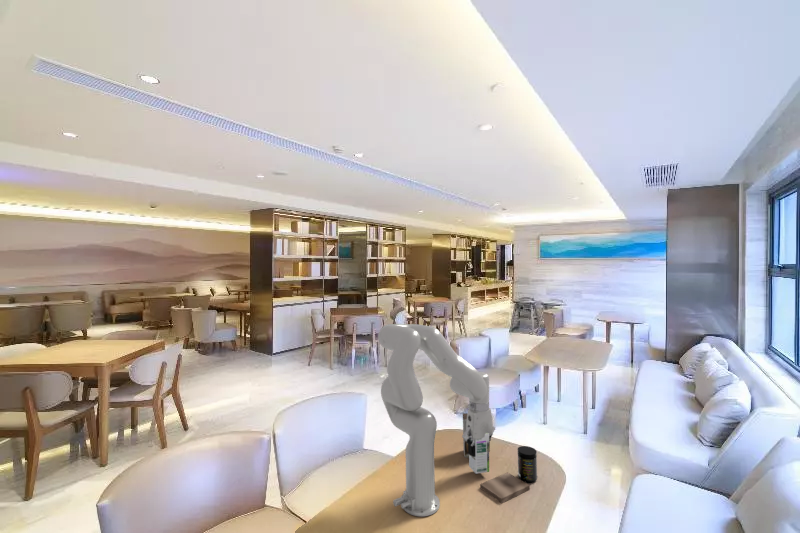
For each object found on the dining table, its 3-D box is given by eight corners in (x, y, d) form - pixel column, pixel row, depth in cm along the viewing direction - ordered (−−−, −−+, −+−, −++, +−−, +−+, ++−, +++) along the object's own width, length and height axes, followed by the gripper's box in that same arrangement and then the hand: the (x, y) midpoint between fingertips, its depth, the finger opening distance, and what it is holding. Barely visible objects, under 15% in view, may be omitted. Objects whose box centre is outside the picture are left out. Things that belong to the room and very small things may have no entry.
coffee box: (484, 450, 155) (483, 413, 156) (486, 458, 149) (485, 419, 149) (463, 450, 156) (462, 412, 156) (464, 457, 150) (463, 418, 150)
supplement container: (540, 483, 131) (540, 454, 131) (523, 484, 130) (522, 455, 130) (531, 472, 138) (531, 445, 138) (514, 474, 137) (514, 446, 137)
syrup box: (475, 474, 134) (475, 434, 134) (468, 466, 140) (468, 428, 140) (489, 472, 135) (489, 433, 136) (481, 464, 141) (482, 426, 142)
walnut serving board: (501, 503, 120) (501, 498, 120) (480, 488, 128) (480, 483, 128) (529, 489, 127) (529, 485, 127) (507, 476, 136) (507, 472, 136)
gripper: (468, 412, 131) (468, 463, 130) (502, 404, 140) (502, 451, 139) (455, 406, 137) (454, 454, 136) (488, 399, 146) (488, 443, 145)
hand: (478, 452), depth 138 cm, fingers closed on syrup box, 6 cm apart
